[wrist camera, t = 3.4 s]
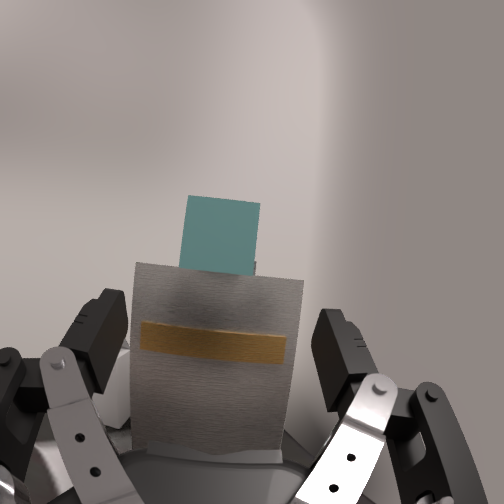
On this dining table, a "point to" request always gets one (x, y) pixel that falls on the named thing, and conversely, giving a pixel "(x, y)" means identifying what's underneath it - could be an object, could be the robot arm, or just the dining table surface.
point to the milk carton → (116, 392)
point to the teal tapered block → (219, 235)
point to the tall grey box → (211, 358)
